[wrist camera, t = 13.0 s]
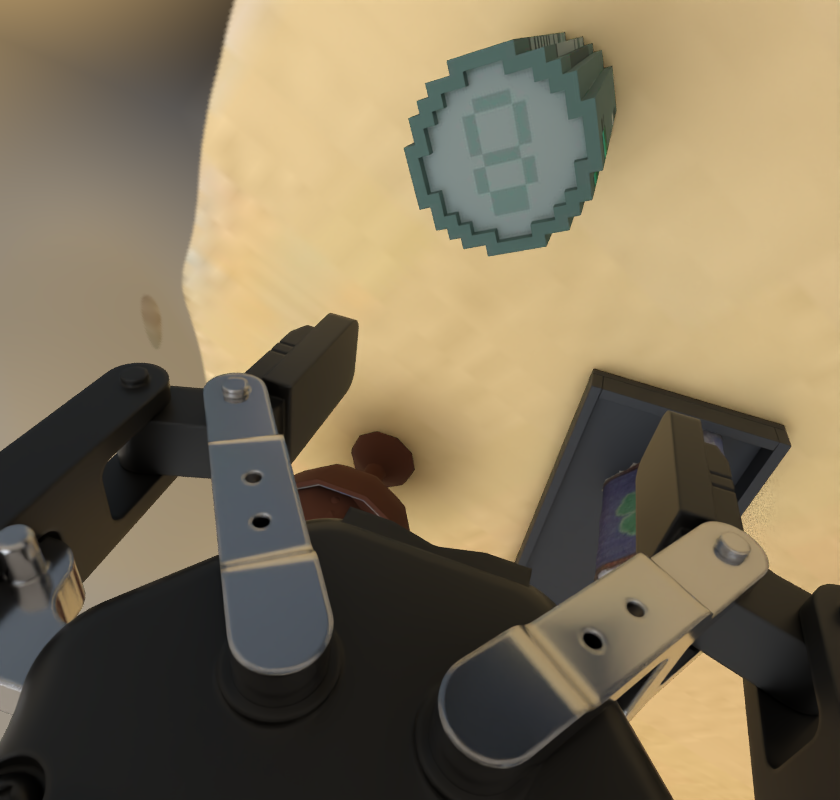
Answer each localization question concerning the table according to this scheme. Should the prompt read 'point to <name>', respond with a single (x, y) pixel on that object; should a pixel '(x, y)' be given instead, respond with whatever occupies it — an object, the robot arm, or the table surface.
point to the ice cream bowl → (359, 481)
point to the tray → (616, 451)
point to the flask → (624, 516)
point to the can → (513, 141)
